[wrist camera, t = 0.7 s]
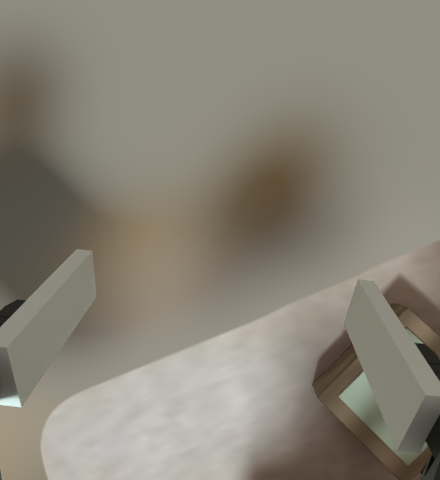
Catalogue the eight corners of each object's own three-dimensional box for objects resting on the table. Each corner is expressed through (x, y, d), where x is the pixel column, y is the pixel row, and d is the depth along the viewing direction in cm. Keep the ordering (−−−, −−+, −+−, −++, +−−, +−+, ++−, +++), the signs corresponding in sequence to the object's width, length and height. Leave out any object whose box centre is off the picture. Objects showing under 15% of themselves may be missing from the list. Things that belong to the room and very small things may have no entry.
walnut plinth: (475, 379, 44) (502, 393, 39) (390, 462, 45) (406, 487, 40) (393, 303, 46) (409, 308, 41) (312, 384, 47) (318, 398, 42)
